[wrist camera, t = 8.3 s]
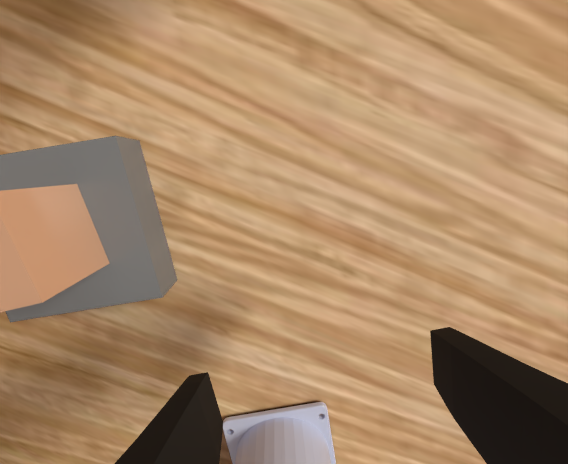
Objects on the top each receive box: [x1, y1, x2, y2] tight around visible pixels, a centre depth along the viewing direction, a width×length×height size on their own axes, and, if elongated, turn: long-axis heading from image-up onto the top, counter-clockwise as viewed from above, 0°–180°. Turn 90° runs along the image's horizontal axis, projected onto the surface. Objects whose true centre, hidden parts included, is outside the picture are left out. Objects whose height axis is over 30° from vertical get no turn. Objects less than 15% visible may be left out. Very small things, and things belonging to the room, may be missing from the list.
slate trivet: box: [0, 136, 177, 322], centre depth 16 cm, size 9×9×3 cm
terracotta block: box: [0, 184, 109, 312], centre depth 13 cm, size 4×4×4 cm
